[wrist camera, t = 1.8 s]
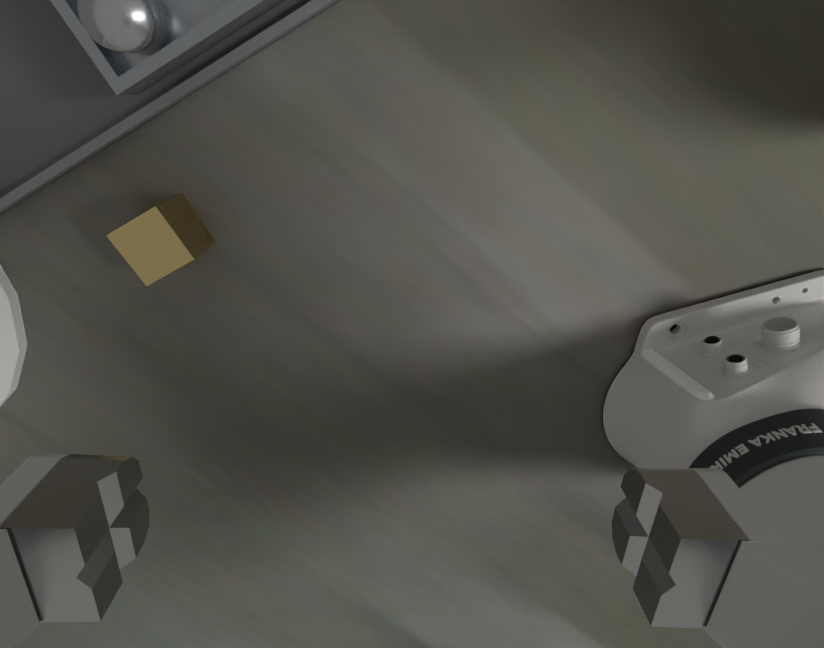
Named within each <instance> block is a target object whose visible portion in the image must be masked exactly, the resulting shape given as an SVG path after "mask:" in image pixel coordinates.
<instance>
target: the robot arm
mask: <svg viewBox="0 0 824 648" xmlns="http://www.w3.org/2000/svg"><path fill="white" fill-rule="evenodd" d="M675 324H676V327H675V328H674V329H673V330H670V328H671V326H673V325H675ZM603 423H604V429H605V433H606V436H607V438H608V440H609V442H610V444H611V445H612V447H613V448H614V449H615V451H616V452H617V453H618V454H619V455H620V456H622V457H623V458H624V459H626V460H627V461H628V462H630V463H631V464H633V465H634V466H635V467H636V468H629V469H628V470H627V472H626V473H625V474H624V477H623V480H622V484H621V488H622V490H623V492H624V494H625V496H626V498H625V499H624V500H623V501H622V502H621V503H619V504H618V505H617V506H616V507H615V510H614V515H613V519H612V538H613V543H614V547H615V550H616V553H617V555H618V558H619V560H620V562H621V564H622V566H624V567H625V568H626V569H628V570H629V571H630V572H631V573H633V574H634V575H635V576H636V580H635V583H634V586H633V590H634V592H635V594H636V596H637V598H638V600H639V602H640V605H641V607H642V609H643V611H644V613H645V615H646V617H647V619H648V621H649V623H650V625H651V626H658V627H683V628H706V629H705V632H706V633H707V634H708V635H709V636H711V637H712V638H713V639H714V640H715V641H716V642H717V643H718V644H719V645H720V646H721V647H722V648H824V270H818V271H815V272H811V273H807V274H803V275H800V276H796V277H793V278H789V279H786V280H782V281H778V282H775V283H771V284H768V285H764V286H760V287H757V288H753V289H750V290H746V291H742V292H739V293H735V294H732V295H728V296H724V297H721V298H717V299H714V300H710V301H706V302H703V303H699V304H696V305H692V306H688V307H685V308H681V309H678V310H674V311H670V312H667V313H663V314H660V315H656V316H653V317H651V318H650V319H648V320H647V321H646V322H645V323H644V325H643V326H642V328H641V330H640V333H639V336H638V339H637V342H636V345H635V349H634V352H633V354H632V356H631V357H630V359H629V360H628V362H627V363H626V364H625V365H624V367H623V368H622V369H621V371H620V372H619V373H618V375H617V376H616V378H615V379H614V381H613V383H612V385H611V387H610V389H609V391H608V393H607V396H606V400H605V404H604V410H603ZM142 477H143V476H142V472H141V468H140V465H139V461H138V460H137V459H135V458H133V457H127V456H104V455H82V454H70V455H67V454H47V453H39V454H36V455H33V456H30V457H28V458H27V459H26V460H25V461H24V462H23V463H22V464H21V465H20V466H19V467H18V468H17V469H16V470H15V471H14V472H13V473H12V474H11V475H10V476H9V477H8V478H7V479H6V480H5V481H4V482H3V483H2V484H1V485H0V648H14V647H15V646H17V645H18V644H19V643H20V642H22V641H23V640H24V639H25V638H26V637H28V636H29V635H30V634H31V633H32V632H34V631H35V630H36V629H37V628H39V627H40V625H41V624H40V622H88V621H101V620H102V618H103V616H104V614H105V613H106V611H107V609H108V607H109V605H110V604H111V602H112V600H113V598H114V597H115V595H116V593H117V591H118V589H119V588H120V586H121V584H122V578H121V574H120V569H121V568H123V567H124V566H125V565H127V564H128V563H130V562H131V561H133V560H134V559H135V558H136V557H137V555H138V553H139V551H140V549H141V548H142V546H143V544H144V541H145V537H146V533H147V530H148V526H149V506H148V501H147V498H146V497H145V496H144V495H143V494H142V493H141V492H140V491H139V490H138V489H136V486H137V485H138V483H139V482H140V480H141V479H142Z"/></svg>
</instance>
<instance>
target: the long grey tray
mask: <svg viewBox="0 0 824 648" xmlns="http://www.w3.org/2000/svg"><path fill="white" fill-rule="evenodd" d="M50 1H51V2H52V4H53V5H54V7H55V8H56V9H57V11H58V12H59V14H60V15H61V17H62V18H63V19H64V21H65V22H66V24H67V25H68V27H69V28H70V29H71V31H72V32H73V34H74V35H75V37H76V38H77V39H78V41H79V42H80V44H81V45H82V47H83V48H84V49H85V51H86V52H87V54H88V55H89V56H90V58H91V59H92V61H93V62H94V64H95V65H96V66H97V68H98V69H99V71H100V72H101V74H102V75H103V76H104V78H105V79H106V81H107V82H108V84H109V85H110V86H111V88H112V89H113V91H114V92H115V94H116V95H139V94H140V93H142V92H144V91H145V90H147V89H148V88H150V87H151V86H153V85H154V84H156V83H158V82H159V81H161V80H162V79H164V78H165V77H167V76H168V75H170V74H172V73H173V72H175V71H176V70H178V69H179V68H181V67H183V66H184V65H186V64H187V63H189V62H190V61H192V60H193V59H195V58H197V57H198V56H200V55H201V54H203V53H204V52H206V51H207V50H209V49H211V48H212V47H214V46H215V45H217V44H218V43H220V42H221V41H223V40H225V39H226V38H228V37H229V36H231V35H232V34H234V33H236V32H237V31H239V30H240V29H242V28H243V27H245V26H246V25H248V24H250V23H251V22H253V21H254V20H256V19H257V18H259V17H260V16H262V15H264V14H265V13H267V12H268V11H270V10H271V9H273V8H274V7H276V6H278V5H279V4H281V3H282V2H284V1H285V0H159V2H160V3H161V4H162V6H163V8H164V10H165V12H166V15H167V18H168V26H169V29H168V36H167V39H166V41H165V43H164V45H163V46H162V47H161V48H160V49H159V50H158V51H156V52H154V53H151V54H135V53H129V52H122V51H115V50H111V49H108V48H105V47H103V46H101V45H100V44H98V43H97V42H96V41H95V40H94V39H92V37H91V36H90V35H89V34H88V33H87V31H86V30H85V28H84V26H83V24H82V22H81V20H80V17H79V13H78V0H50Z"/></svg>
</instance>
